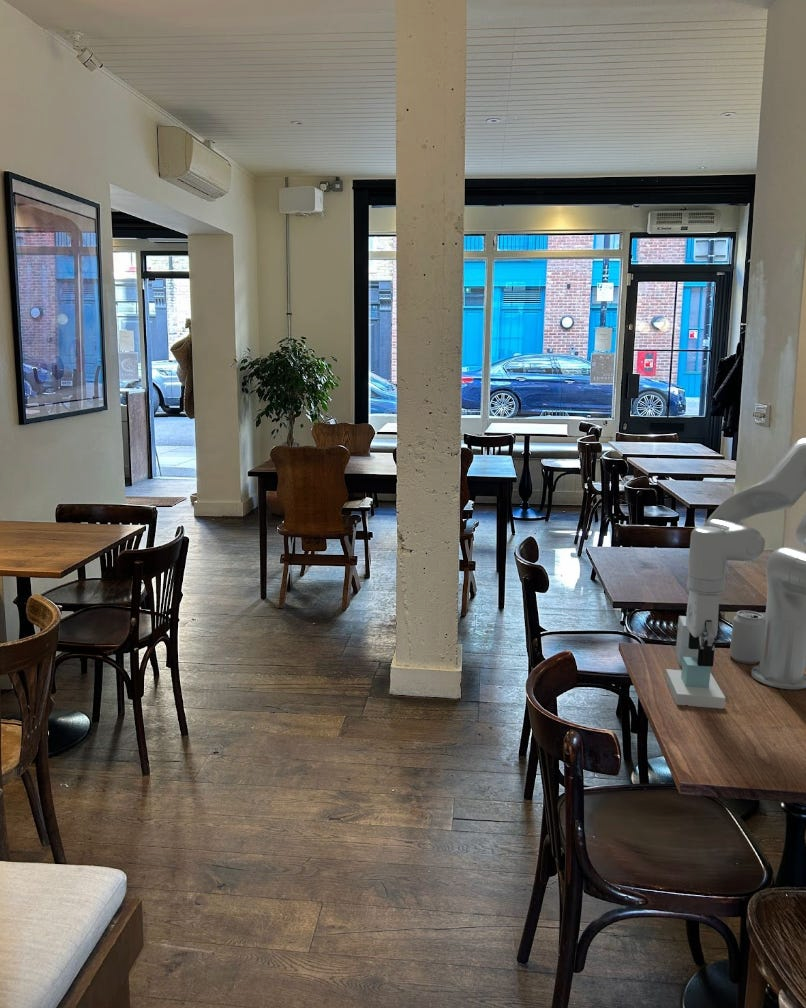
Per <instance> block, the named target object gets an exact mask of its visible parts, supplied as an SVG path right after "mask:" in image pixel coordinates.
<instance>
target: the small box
mask: <svg viewBox="0 0 806 1008" xmlns="http://www.w3.org/2000/svg"><path fill="white" fill-rule="evenodd" d="M689 632H690V631H689V629H688V627H687V625H686V616H685V615H679V616H678V622H677V633H676V634H677V635H676V643H675V658H676V660H677V662H678V665H679V667H682V661H683V657H694V658H698V649H689V647H688V645H689ZM704 635H707V634H704ZM705 640H707V639H704V641H705Z"/></svg>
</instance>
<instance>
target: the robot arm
mask: <svg viewBox="0 0 806 1008" xmlns="http://www.w3.org/2000/svg"><path fill="white" fill-rule="evenodd" d="M805 492H806V437H803V438H800V439H798V440H796V441H795V442H794V443H793V444H792V445H791V446H790V447H789V448H788V450H786V452H785V453H784V454H783V455H782V456H781V458H780V459H779V460H778V461H777V462H776V464H775V465H774V466H772V468H771V469H770V470H769V472H767V474H766V475H765V476H764V478H763V479H761V480H760V481H759V482H758V483H756V484H753V485H751V486H749V487H747V488H744V489H742V490H741V491H739V492H736V493H735V494H733V495H731V496H730V497H728V498H727V499H725V500H724V501H723V502H721V503H720V504H719V505H718V506H717V508H716V509H715V510H714V511H713V512H712V513H711V514H710V516H708V518H707V519H706V521H705V522H704V524H703V526H697V527H695V528H693V529H692V531H691V532H690V541H689V555H688V568H687V570H688V571H687V572H688V573H687V581H686V582H687V586H686V588H687V590H688V598H687V606H686V607H687V608H686V625H687V627H688V629H689V631H690V632H689V645H688V647H689V649H698V661H697V664H698V666H708V667H711V668H712V667H713V666H714V660H715V659H714V657H715V643H716V642H715V638H716V637H717V635H718V629H719V627H718V626H719V609H720V599H719V598H720V595H722V594H724V591H725V589H724V588H725V581H726V580H725V578H726V576H725V575H726V565H727V561H736V562H749V561H752V560H755V559H758V558H759V557H760V556H761V555H762V554H763V552H764V550H765V548H766V541H765V538H764V536H763V534H762V533H761V532H760V531H759V530H757V529H756V528H754V527H750V526H749V525H748V526H747V525H743V524H741V523H742V522H744V521H746V520H747V519H749V518H751V517H754V516H757V515H761V514H765V513H771V512H777V511H782V510H786V509H789V508H792V507H794V505H796V503H797V502H798V501H799V499H801V497H802V496H803V495H804V493H805ZM795 538H796V540H797V542H798V543H799V544H801V545H802V546H804V547H806V512H805V513H804V514H803V516H802V518H801V519H800V521H799V523H798V525H797V527H796V530H795ZM765 576H766V577H765V578H766V587H767V591H766V594H767V595H766V605H765V608H766V609H765V614H764V615H765V616H764V620H765V621H764V630H763V638H762V647H761V655H760V661H759V664H758V665H755V666H753V667H752V668H751V670H750V671H751V673H750V674H751V677H752V678H754V679H755V680H756V681H757V682H760V683H762V684H764V685H767V686H770V687H773V688H777V689H783V690H784V689H785V690H803V689H806V673H805V669H806V550H804V549H800V548H797V547H792V546H783V547H779V548H777V549H775V550H774V551H773V552H771V553H770V555H769V556H768V558H767V559H766V564H765ZM704 634H706V635H704ZM704 639H706V640H705V641H704Z"/></svg>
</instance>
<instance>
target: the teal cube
mask: <svg viewBox="0 0 806 1008" xmlns="http://www.w3.org/2000/svg"><path fill="white" fill-rule="evenodd" d="M697 661H698V658H694V657H683V661H682V666H681V670H682V671H681V679H682V681H683V683H684V685H685V686H687V687H700V688H709V682H710V673H711V671H712V667H708V666H698V664H697Z"/></svg>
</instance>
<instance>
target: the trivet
mask: <svg viewBox="0 0 806 1008" xmlns="http://www.w3.org/2000/svg"><path fill="white" fill-rule="evenodd" d="M681 671H682V669H680V670H679V669H669V668H668V669H667V668H666V669H665V676H664V680H665V683H666V685H667V687H668V689H669V692H670V693H671V697H672V699H673V698H674V699H673V700H674V702H675V705H676V706H685V705H688V706H690V707H699V708H708V709H709V708H710V709H720V710H721V709H725V707H726V706H725V705H726V696H725V695H724V693H723V691H722V689H721V688H720V686H719V684H718V683H717V681H716V679H715V677H714V676H713V674H712V673H711V672H710V682H709V688H700V687H687V686H685V685H684V683H683V681H682V679H681Z"/></svg>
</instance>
